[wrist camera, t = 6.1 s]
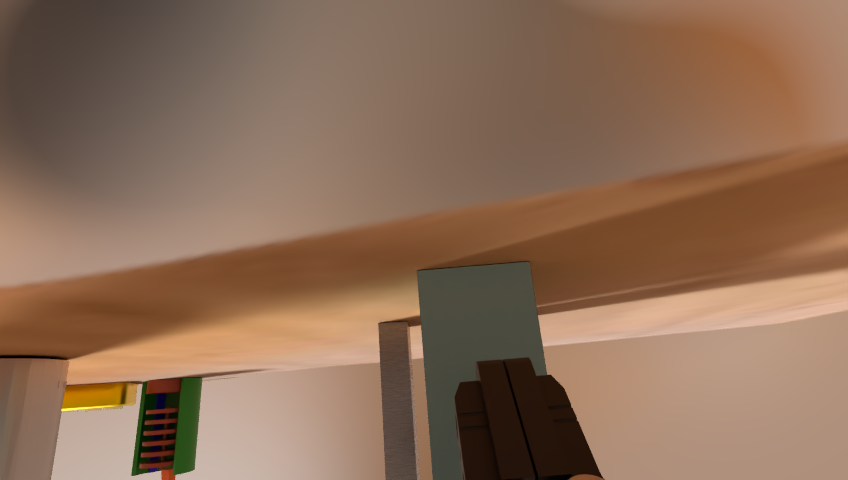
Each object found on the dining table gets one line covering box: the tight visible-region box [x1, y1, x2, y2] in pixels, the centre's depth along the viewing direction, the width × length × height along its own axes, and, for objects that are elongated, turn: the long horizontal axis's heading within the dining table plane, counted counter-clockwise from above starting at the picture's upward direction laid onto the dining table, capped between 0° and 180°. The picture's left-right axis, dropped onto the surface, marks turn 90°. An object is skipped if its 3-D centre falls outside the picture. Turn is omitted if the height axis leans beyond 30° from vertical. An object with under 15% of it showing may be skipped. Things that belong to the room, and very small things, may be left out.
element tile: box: [62, 382, 137, 412], centre depth 82 cm, size 15×15×5 cm
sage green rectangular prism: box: [417, 262, 547, 480], centre depth 22 cm, size 13×4×12 cm, turn 1°
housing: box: [378, 321, 420, 480], centre depth 30 cm, size 7×11×20 cm, turn 91°
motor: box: [132, 378, 202, 480], centre depth 80 cm, size 10×9×20 cm
